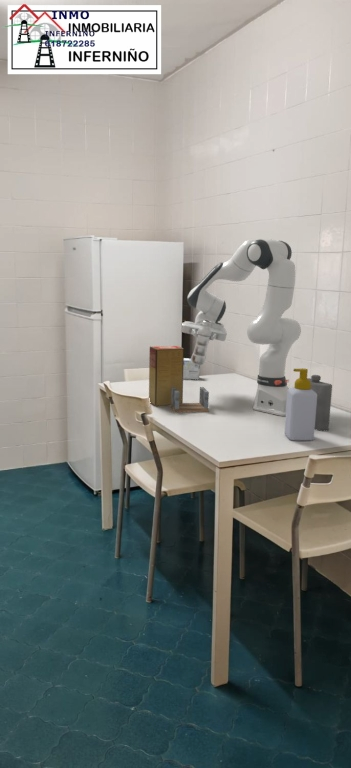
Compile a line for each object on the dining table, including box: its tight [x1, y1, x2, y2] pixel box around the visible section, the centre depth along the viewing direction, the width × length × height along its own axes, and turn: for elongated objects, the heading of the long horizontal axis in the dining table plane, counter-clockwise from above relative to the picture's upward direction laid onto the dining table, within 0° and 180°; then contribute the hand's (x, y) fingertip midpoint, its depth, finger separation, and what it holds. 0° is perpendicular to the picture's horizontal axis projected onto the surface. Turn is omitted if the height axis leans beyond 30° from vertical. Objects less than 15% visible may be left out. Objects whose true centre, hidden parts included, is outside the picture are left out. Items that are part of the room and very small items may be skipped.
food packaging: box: [148, 345, 185, 407], centre depth 250 cm, size 13×9×25 cm
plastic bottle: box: [190, 320, 212, 366], centre depth 252 cm, size 6×7×20 cm
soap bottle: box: [284, 368, 317, 442], centre depth 204 cm, size 9×9×25 cm
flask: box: [307, 374, 333, 432], centre depth 220 cm, size 15×6×20 cm, turn 25°
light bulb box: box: [183, 357, 201, 381], centre depth 310 cm, size 11×7×11 cm, turn 84°
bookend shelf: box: [169, 386, 210, 413], centre depth 242 cm, size 10×14×8 cm
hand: (203, 336), depth 250 cm, fingers closed on plastic bottle, 6 cm apart
